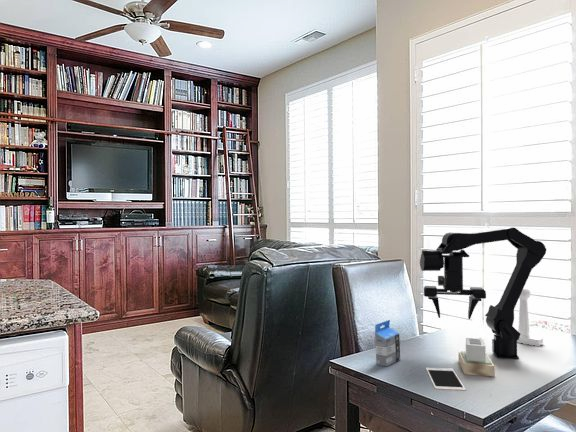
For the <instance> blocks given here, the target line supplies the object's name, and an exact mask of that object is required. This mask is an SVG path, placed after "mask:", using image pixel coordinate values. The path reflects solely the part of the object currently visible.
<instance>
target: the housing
mask: <svg viewBox="0 0 576 432" xmlns="http://www.w3.org/2000/svg"><path fill="white" fill-rule="evenodd" d="M484 340H485V339H484V338H476V337H475V338H474V337H465V351H466V357H467V360H470V361H480V362H486V354H487V353H486V344H485V341H484Z"/></svg>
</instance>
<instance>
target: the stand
mask: <svg viewBox="0 0 576 432" xmlns="http://www.w3.org/2000/svg"><path fill="white" fill-rule="evenodd" d="M458 362H459V365H460V368H461V370H462V372H463V375H469V376H483V377H495V375H496V372H495V370H496V369H495V368H496V366H495V364H494V363H493V361H492V360H491V358H490V357H489V355H488V354H487V353H486V362H480V361H470V360H467V357H466V350H459V351H458Z"/></svg>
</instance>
